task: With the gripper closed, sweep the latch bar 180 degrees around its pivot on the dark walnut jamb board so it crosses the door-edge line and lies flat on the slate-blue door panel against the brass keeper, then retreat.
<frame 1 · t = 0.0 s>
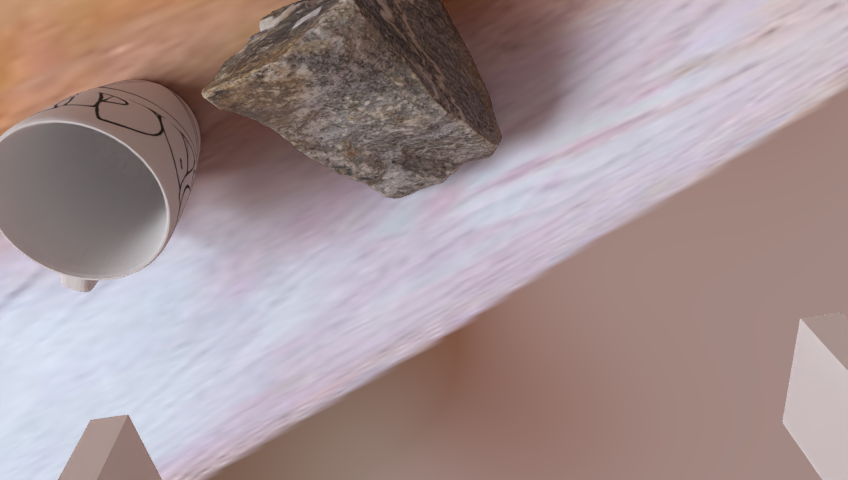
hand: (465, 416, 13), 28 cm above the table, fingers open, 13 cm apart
mug: (143, 150, 40), on the table
rock: (380, 79, 38), on the table
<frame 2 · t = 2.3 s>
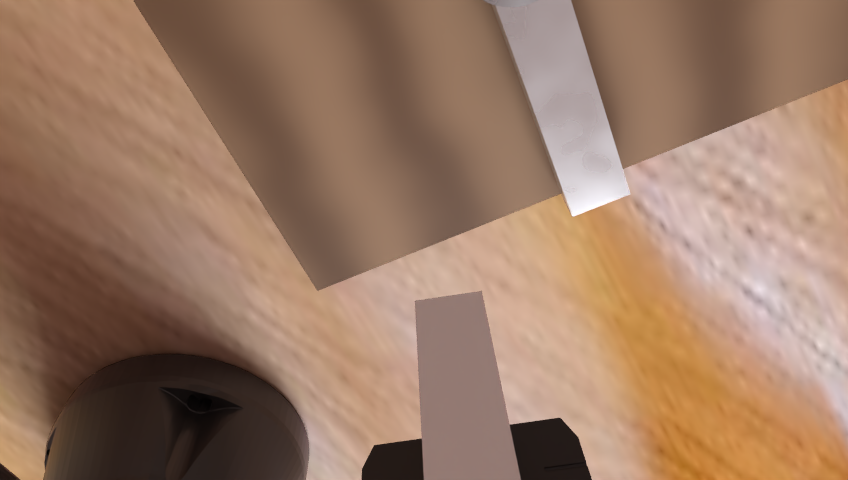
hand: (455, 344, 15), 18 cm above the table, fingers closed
latch bar: (550, 57, 25), point 5 cm above the table, hinge at 0.0°
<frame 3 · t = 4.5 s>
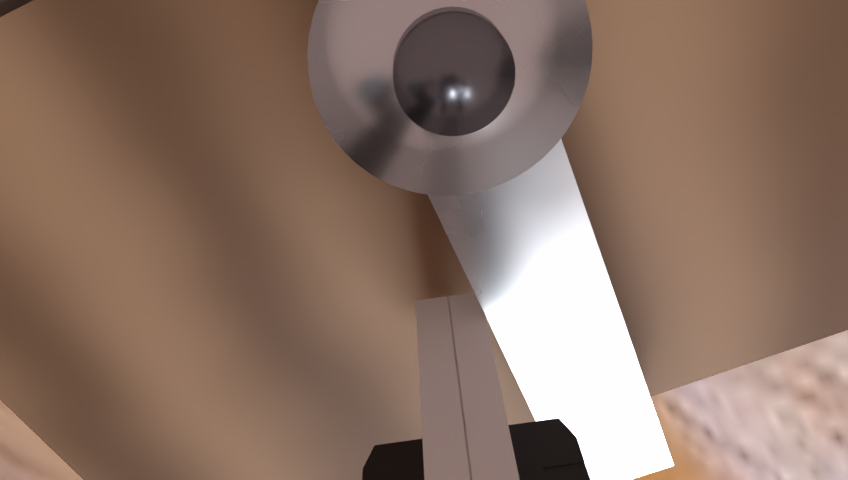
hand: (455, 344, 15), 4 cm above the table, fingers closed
latch bar: (532, 262, 13), point 5 cm above the table, hinge at 0.0°, touching gripper
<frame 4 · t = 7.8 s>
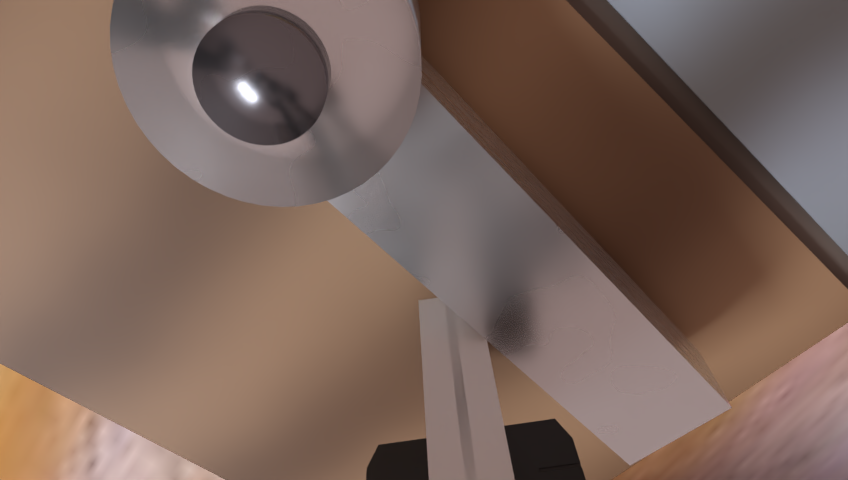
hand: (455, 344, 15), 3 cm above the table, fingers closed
latch bar: (474, 235, 12), point 5 cm above the table, hinge at 84.6°, touching gripper
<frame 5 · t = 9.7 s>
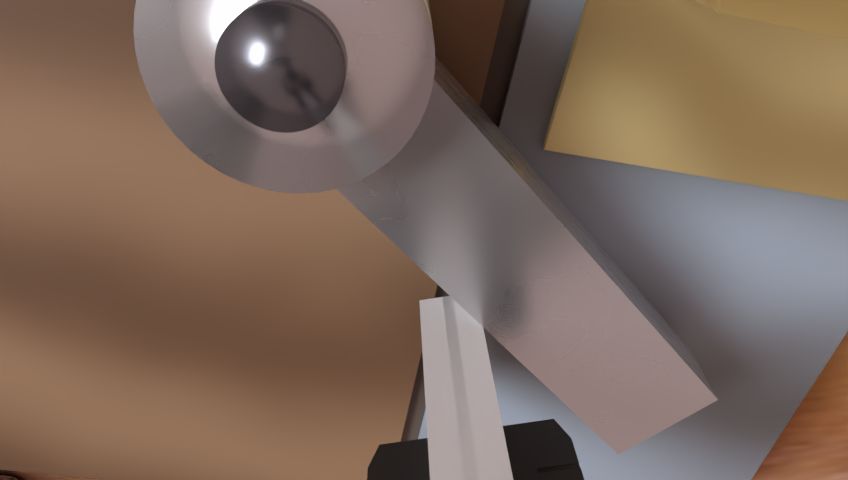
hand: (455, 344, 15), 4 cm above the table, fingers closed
latch bar: (477, 227, 12), point 5 cm above the table, hinge at 141.8°, touching gripper
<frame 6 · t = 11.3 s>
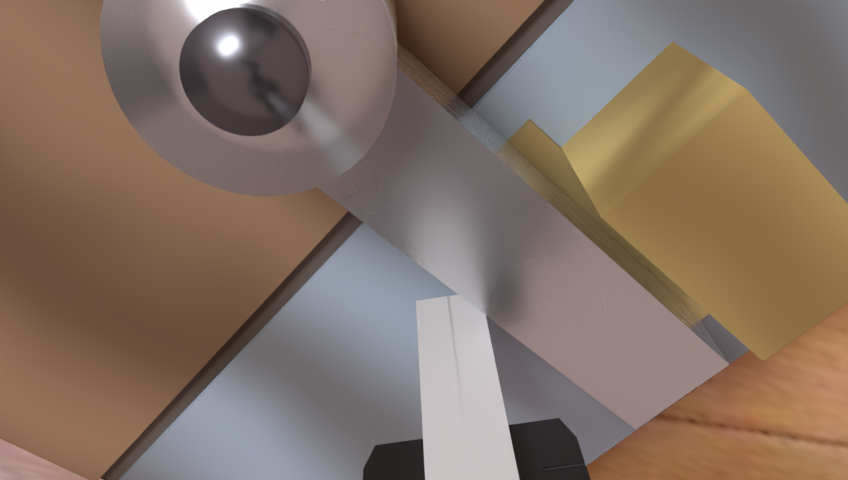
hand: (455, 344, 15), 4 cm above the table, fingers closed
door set: (335, 25, 15), on the table
latch bar: (464, 213, 12), point 5 cm above the table, hinge at 179.1°, touching gripper
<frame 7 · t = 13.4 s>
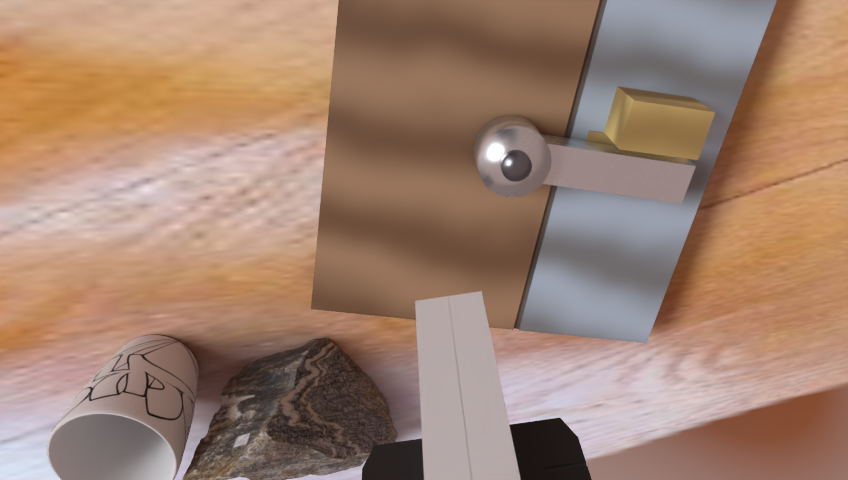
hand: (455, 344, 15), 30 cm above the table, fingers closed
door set: (514, 134, 45), on the table
mug: (150, 374, 53), on the table
latch bar: (584, 168, 41), point 5 cm above the table, hinge at 179.1°
rock: (311, 396, 55), on the table
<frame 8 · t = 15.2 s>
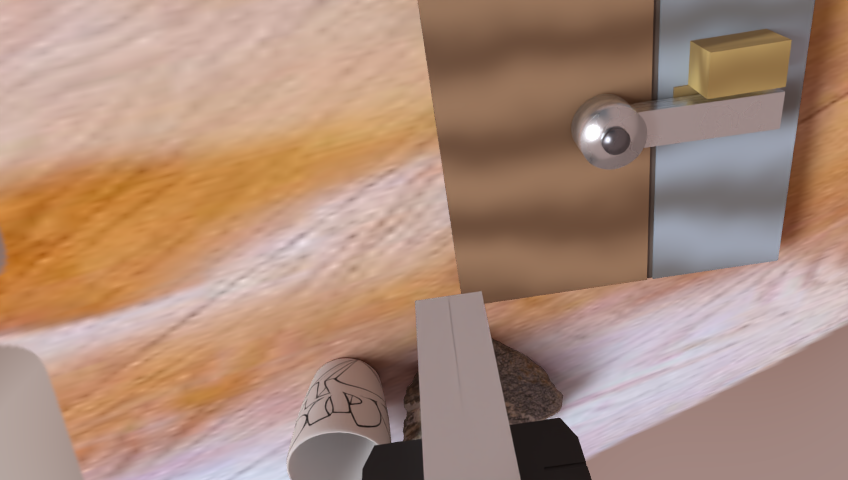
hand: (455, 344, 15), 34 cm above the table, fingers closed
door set: (604, 108, 48), on the table
mug: (341, 392, 61), on the table
latch bar: (678, 123, 44), point 5 cm above the table, hinge at 179.1°
rock: (478, 383, 62), on the table
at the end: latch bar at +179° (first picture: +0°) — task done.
